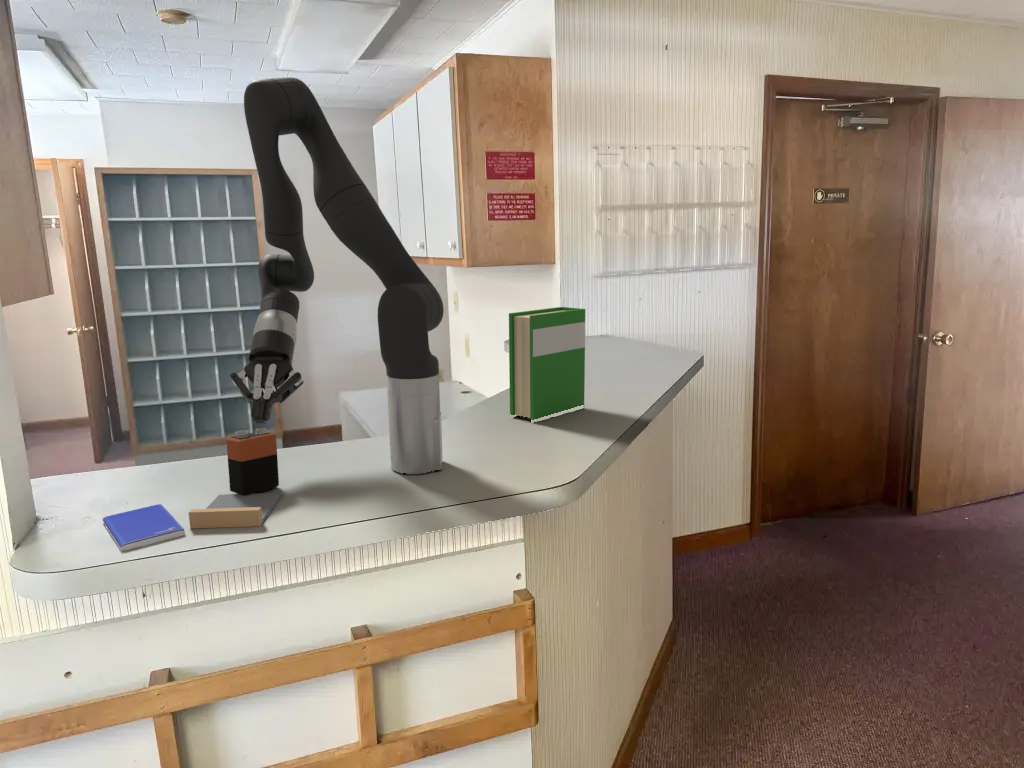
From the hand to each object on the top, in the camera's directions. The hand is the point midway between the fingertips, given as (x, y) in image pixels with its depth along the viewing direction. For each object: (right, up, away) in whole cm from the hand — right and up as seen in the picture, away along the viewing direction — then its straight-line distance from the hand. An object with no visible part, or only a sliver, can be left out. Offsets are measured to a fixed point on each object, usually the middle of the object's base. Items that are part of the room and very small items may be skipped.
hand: (259, 421), depth 121 cm
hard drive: (-10, -15, -18) cm, 26 cm away
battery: (+1, -11, -4) cm, 12 cm away
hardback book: (+52, -1, +44) cm, 68 cm away
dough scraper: (+1, -13, -12) cm, 18 cm away
